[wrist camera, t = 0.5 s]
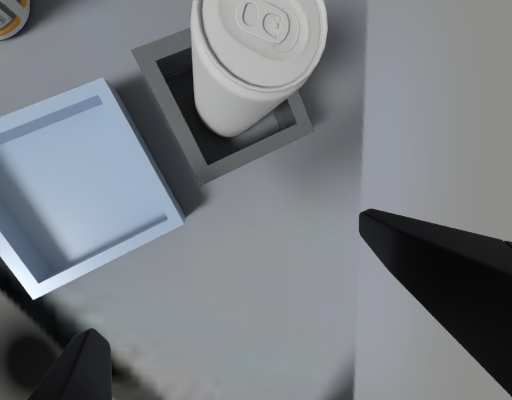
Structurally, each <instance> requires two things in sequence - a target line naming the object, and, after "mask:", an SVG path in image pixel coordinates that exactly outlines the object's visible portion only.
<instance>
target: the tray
mask: <svg viewBox="0 0 512 400" xmlns="http://www.w3.org/2000/svg"><path fill="white" fill-rule="evenodd" d="M185 219H186V217H185V215H184V213H183V211H182V209H181V207H180V206H179V204H178V202H177V200H176V198H175V196H174V195H173V193H172V191H171V189H170V187H169V186H168V184H167V182H166V180H165V178H164V176H163V175H162V173H161V171H160V169H159V167H158V165H157V164H156V162H155V160H154V158H153V156H152V154H151V153H150V151H149V149H148V147H147V145H146V143H145V142H144V140H143V138H142V136H141V134H140V132H139V131H138V129H137V127H136V125H135V123H134V121H133V120H132V118H131V116H130V114H129V112H128V110H127V109H126V107H125V105H124V103H123V101H122V99H121V98H120V96H119V94H118V92H117V90H116V89H115V88H114V87H113V86H112V85H111V84H110V83H109V82H108V81H107V80H106V79H105V78H100V79H98V80H95V81H92V82H90V83H87V84H85V85H82V86H79V87H77V88H74V89H72V90H69V91H66V92H64V93H61V94H59V95H56V96H53V97H51V98H48V99H46V100H43V101H40V102H38V103H35V104H33V105H30V106H27V107H25V108H22V109H20V110H17V111H14V112H12V113H9V114H7V115H4V116H1V117H0V256H1V258H2V259H3V260H4V262H5V263H6V264H7V266H8V267H9V268H10V270H11V271H12V272H13V274H14V275H15V276H16V277H17V279H18V280H19V281H20V283H21V284H22V285H23V287H24V288H25V289H26V291H27V292H28V293H29V295H30V296H31V297H32V299H33V300H34V299H36V298H38V297H40V296H42V295H44V294H46V293H48V292H50V291H52V290H54V289H56V288H58V287H60V286H62V285H64V284H66V283H68V282H70V281H72V280H74V279H76V278H78V277H80V276H82V275H84V274H86V273H88V272H90V271H92V270H94V269H96V268H98V267H100V266H102V265H104V264H106V263H108V262H110V261H112V260H114V259H116V258H118V257H120V256H122V255H124V254H126V253H128V252H130V251H132V250H134V249H136V248H138V247H140V246H142V245H144V244H146V243H148V242H150V241H152V240H154V239H156V238H158V237H160V236H162V235H164V234H166V233H168V232H170V231H172V230H174V229H176V228H178V227H180V226H182V225H184V223H185Z"/></svg>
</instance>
